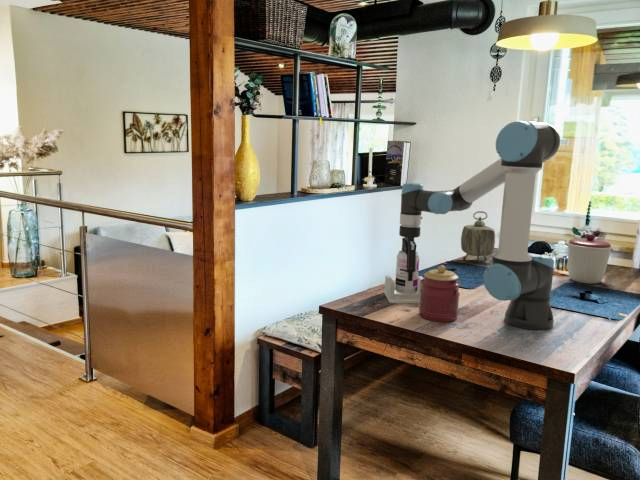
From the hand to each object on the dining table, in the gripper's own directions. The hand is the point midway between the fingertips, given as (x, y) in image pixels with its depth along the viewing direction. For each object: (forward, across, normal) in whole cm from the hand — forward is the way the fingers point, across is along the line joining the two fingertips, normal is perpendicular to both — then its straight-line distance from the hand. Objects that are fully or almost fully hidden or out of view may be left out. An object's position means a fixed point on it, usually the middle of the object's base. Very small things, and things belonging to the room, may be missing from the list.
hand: (406, 285), depth 207 cm
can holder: (+5, 0, 0) cm, 5 cm away
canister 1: (+5, -21, -7) cm, 23 cm away
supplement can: (+2, 0, 0) cm, 2 cm away
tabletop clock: (+5, +65, -48) cm, 81 cm away
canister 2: (+5, +31, -85) cm, 91 cm away
